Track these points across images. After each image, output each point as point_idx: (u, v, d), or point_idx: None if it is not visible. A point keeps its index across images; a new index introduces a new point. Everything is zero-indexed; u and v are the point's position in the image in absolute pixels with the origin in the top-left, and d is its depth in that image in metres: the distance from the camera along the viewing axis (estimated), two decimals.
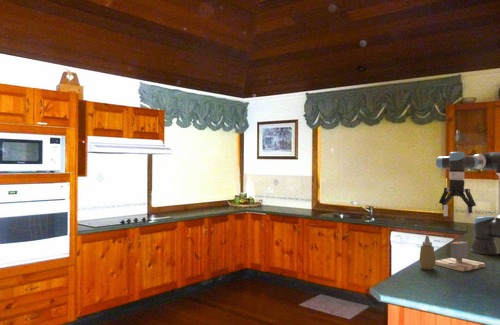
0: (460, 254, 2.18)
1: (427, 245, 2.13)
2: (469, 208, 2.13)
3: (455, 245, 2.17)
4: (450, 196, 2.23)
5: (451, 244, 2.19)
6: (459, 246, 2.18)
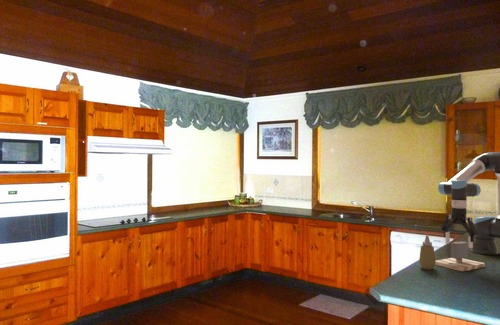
0: (460, 254, 2.18)
1: (427, 245, 2.13)
2: (471, 237, 2.14)
3: (455, 245, 2.17)
4: (452, 224, 2.23)
5: (451, 244, 2.19)
6: (459, 246, 2.18)
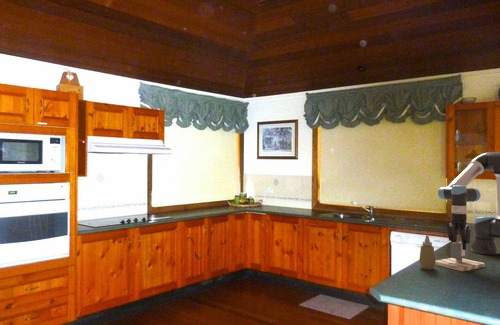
0: (460, 254, 2.18)
1: (427, 245, 2.13)
2: (463, 245, 2.18)
3: (455, 245, 2.17)
4: (455, 230, 2.22)
5: (451, 244, 2.19)
6: (459, 246, 2.18)
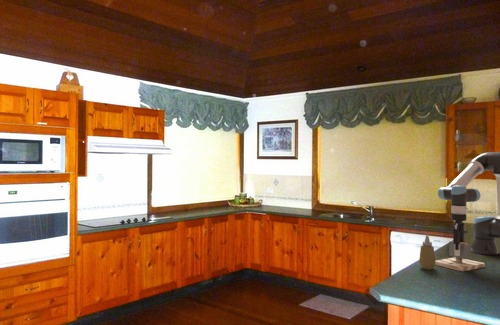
0: None
1: (427, 245, 2.13)
2: None
3: (468, 245, 2.16)
4: (459, 231, 2.19)
5: (465, 245, 2.16)
6: None
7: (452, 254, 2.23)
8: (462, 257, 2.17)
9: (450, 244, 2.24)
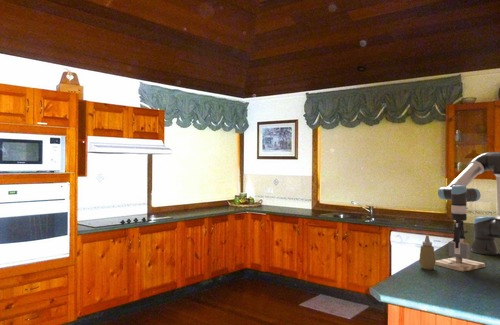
0: None
1: (427, 245, 2.13)
2: None
3: (469, 245, 2.17)
4: None
5: (466, 245, 2.16)
6: None
7: (452, 254, 2.22)
8: (464, 257, 2.17)
9: (450, 244, 2.23)
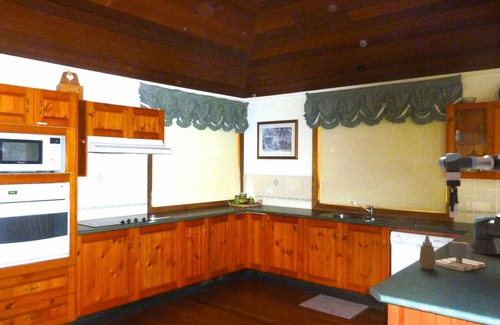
0: None
1: (427, 245, 2.13)
2: None
3: (469, 245, 2.17)
4: (454, 196, 2.27)
5: (466, 245, 2.16)
6: None
7: (452, 254, 2.22)
8: (464, 257, 2.17)
9: (450, 244, 2.23)
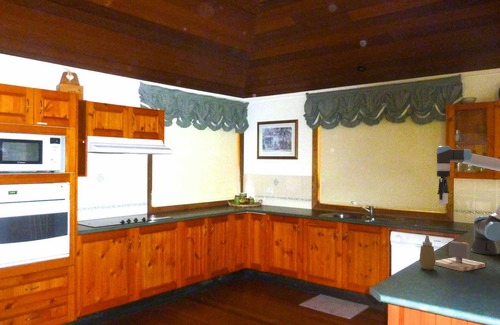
0: None
1: (427, 245, 2.13)
2: None
3: (469, 245, 2.17)
4: (443, 186, 2.45)
5: (466, 245, 2.16)
6: None
7: (452, 254, 2.22)
8: (464, 257, 2.17)
9: (450, 244, 2.23)
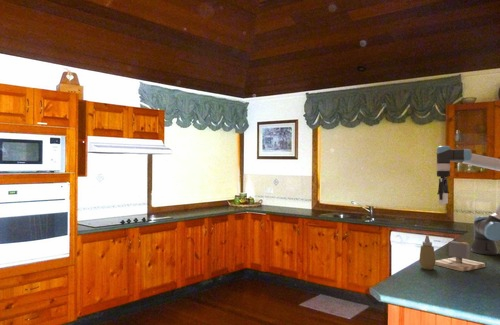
0: None
1: (427, 245, 2.13)
2: None
3: (469, 245, 2.17)
4: (443, 186, 2.45)
5: (466, 245, 2.16)
6: None
7: (452, 254, 2.22)
8: (464, 257, 2.17)
9: (450, 244, 2.23)
